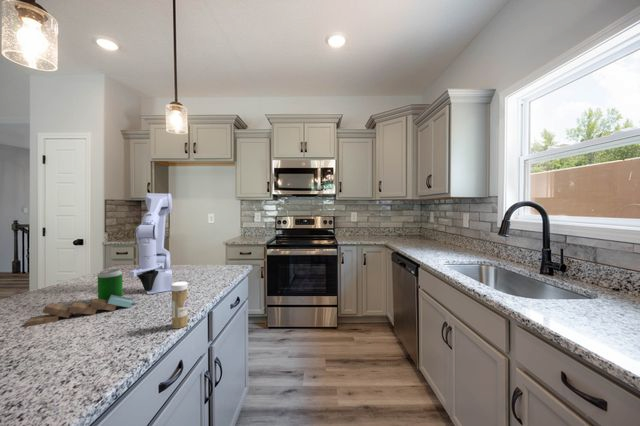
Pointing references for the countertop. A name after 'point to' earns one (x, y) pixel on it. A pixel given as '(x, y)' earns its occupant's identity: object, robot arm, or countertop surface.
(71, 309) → the domino
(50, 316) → the domino
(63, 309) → the domino
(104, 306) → the domino
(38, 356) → the countertop surface
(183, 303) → the sprinkles bottle
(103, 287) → the soda can
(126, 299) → the loose domino
